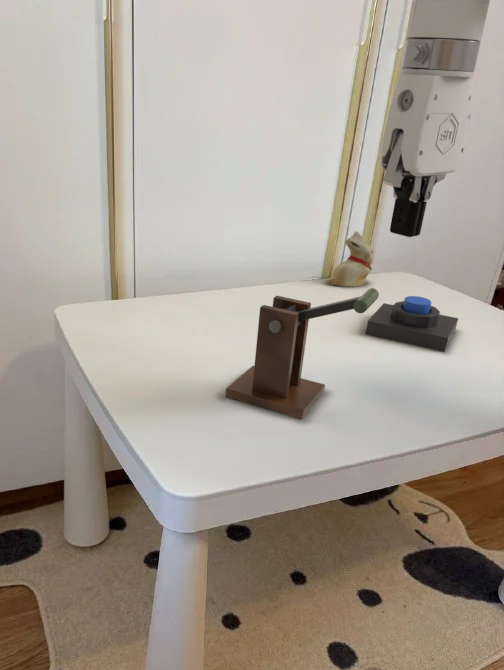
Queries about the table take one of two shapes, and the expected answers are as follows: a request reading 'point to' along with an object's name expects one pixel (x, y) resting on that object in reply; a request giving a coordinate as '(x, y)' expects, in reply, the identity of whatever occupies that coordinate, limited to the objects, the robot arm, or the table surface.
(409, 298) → the blue button
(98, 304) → the table surface
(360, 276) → the chocolate bunny
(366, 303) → the light lever
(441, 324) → the button block
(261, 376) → the lever bracket
